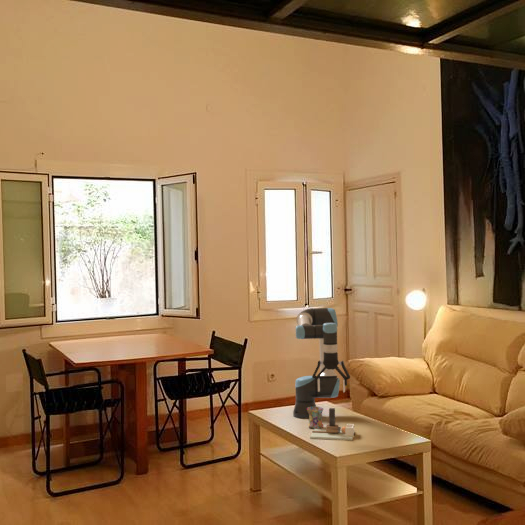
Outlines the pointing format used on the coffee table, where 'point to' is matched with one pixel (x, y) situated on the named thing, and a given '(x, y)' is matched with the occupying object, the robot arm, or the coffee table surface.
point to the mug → (315, 417)
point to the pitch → (329, 435)
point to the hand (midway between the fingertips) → (331, 391)
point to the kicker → (332, 422)
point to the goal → (349, 429)
